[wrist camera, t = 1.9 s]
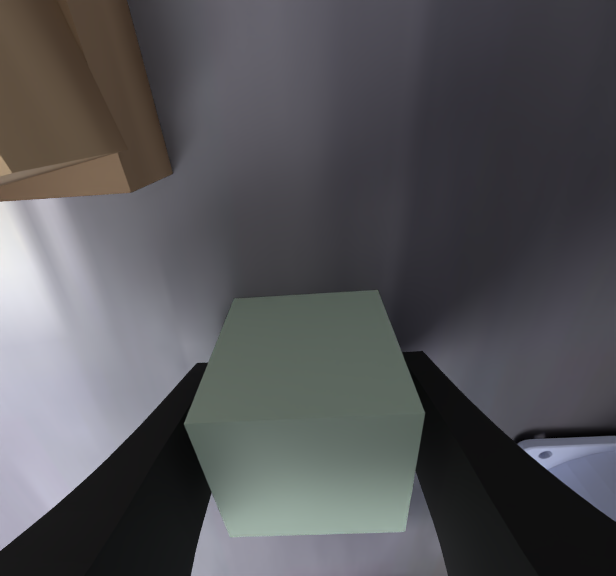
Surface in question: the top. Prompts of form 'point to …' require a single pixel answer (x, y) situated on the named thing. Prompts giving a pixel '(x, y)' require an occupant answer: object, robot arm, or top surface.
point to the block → (308, 417)
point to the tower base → (121, 102)
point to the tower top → (47, 95)
